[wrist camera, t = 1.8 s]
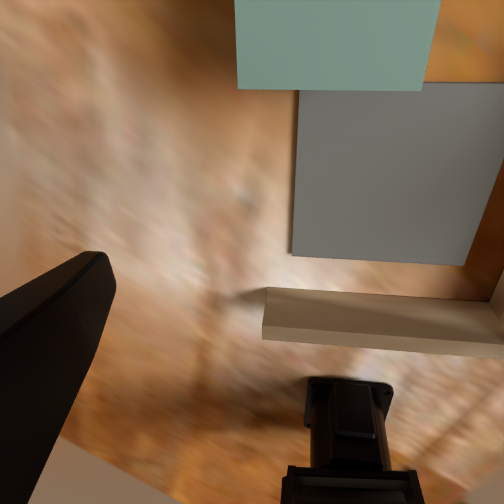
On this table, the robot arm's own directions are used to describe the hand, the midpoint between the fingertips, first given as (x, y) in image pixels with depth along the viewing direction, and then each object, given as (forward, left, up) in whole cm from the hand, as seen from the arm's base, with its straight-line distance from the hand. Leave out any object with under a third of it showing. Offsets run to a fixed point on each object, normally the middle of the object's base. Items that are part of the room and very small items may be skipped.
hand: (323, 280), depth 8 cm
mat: (-4, -4, -14) cm, 15 cm away
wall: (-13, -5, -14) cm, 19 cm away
